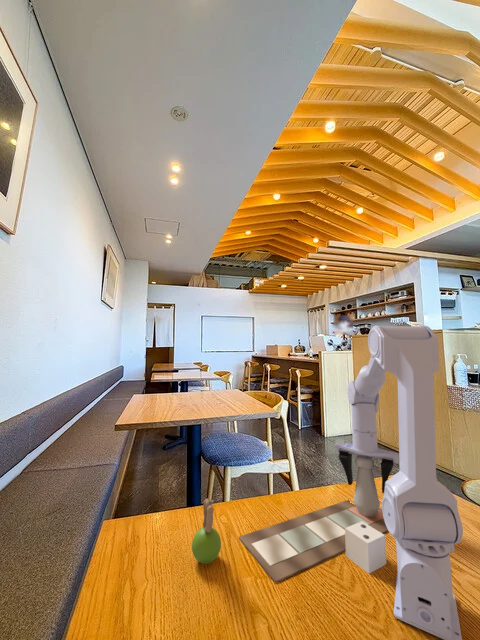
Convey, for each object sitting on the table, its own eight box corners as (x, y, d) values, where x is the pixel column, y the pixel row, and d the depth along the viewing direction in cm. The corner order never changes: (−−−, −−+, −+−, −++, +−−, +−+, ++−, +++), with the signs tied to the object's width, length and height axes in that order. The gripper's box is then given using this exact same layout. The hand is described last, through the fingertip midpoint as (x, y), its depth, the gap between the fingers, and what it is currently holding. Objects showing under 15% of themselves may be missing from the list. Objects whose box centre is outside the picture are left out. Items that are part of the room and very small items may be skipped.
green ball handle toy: (193, 578, 47) (195, 503, 49) (190, 553, 53) (192, 486, 55) (224, 572, 49) (225, 499, 50) (217, 548, 55) (219, 483, 56)
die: (368, 574, 49) (367, 542, 49) (345, 556, 53) (344, 527, 54) (386, 564, 51) (384, 534, 52) (362, 548, 55) (361, 520, 56)
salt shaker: (356, 503, 71) (354, 451, 73) (381, 510, 68) (378, 455, 70) (352, 514, 66) (349, 457, 68) (378, 522, 63) (375, 462, 65)
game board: (275, 583, 46) (275, 580, 46) (238, 538, 58) (238, 536, 58) (405, 523, 64) (405, 521, 64) (357, 497, 75) (357, 496, 75)
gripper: (397, 431, 69) (401, 488, 68) (338, 423, 77) (340, 474, 75) (396, 437, 64) (399, 501, 62) (332, 428, 71) (333, 484, 69)
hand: (366, 487), depth 68 cm, fingers open, 7 cm apart
